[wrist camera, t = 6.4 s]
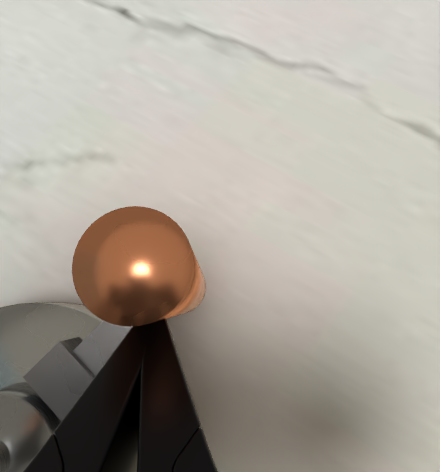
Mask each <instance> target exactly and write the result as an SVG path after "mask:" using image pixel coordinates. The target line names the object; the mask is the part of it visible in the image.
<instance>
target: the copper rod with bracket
mask: <svg viewBox="0 0 440 472" xmlns="http://www.w3.org/2000/svg"><path fill="white" fill-rule="evenodd" d="M72 275H73V282H74V285H75V289H76V291H77V293H78V296H79V297H80V299H81V301H82V302H83V304H84V305H85V306H86V307H87V308H88V309H89V310H90V311H91V312H92V313H93V314H94V315H96V316H97V317H99V318H100V319H102V320H104V321H103V322H102V323H101V324H100V325H99V326H98V327H97V328H96V329H95V330H94V331H92V332H91V333H90V334H89V335H88V336H87V337H86V338H85V339H84V340H82V339H81V338H80V337H76V338H72V339H68V340H64V341H59V342H58V343H57V344H56V345H55V346H54V347H53V348H52V349H51V350H50V351H49V352H48V353H47V354H46V355H45V356H44V357H43V358H42V359H41V360H40V361H39V362H38V363H37V364H36V365H35V366H34V367H33V368H32V369H31V370H30V371H29V372H28V373H27V374H25V375H24V376H23V378H24V379H25V380H26V382H27V383H28V384H29V385H30V386H31V387H32V388H33V390H34V391H35V392H36V393H37V394H38V395H39V396H40V397H41V399H42V400H43V401H44V402H45V403H46V404H47V405H48V407H49V408H50V409H51V410H52V411H53V412H54V413H55V415H56V416H57V417H58V418H59V419H60V420H61V421H62V420H63V419H64V417H65V416H66V415H67V413H68V412H69V411H70V409H71V408H72V407H73V405H74V404H75V403H76V401H77V400H78V399H79V397H80V396H81V395H82V393H83V392H84V391H85V389H86V388H87V387H88V385H89V384H90V383H91V381H92V380H93V379H94V377H95V376H96V375H97V373H98V372H99V371H100V369H101V368H102V367H103V365H104V364H105V363H106V361H107V360H108V359H109V357H110V356H111V355H112V353H113V352H114V351H115V349H116V348H117V347H118V345H119V344H120V343H121V341H122V340H123V339H124V337H125V336H126V335H127V333H128V332H129V331H130V329H131V328H132V327H133V326H141V325H146V324H149V323H153V322H156V321H160V320H163V319H166V318H170V317H173V316H176V315H180V314H183V313H187V312H189V311H191V310H193V309H195V308H196V307H197V306H198V305H199V304H200V303H201V301H202V299H203V297H204V294H205V289H206V285H205V280H204V277H203V274H202V272H201V270H200V267H199V265H198V262H197V260H196V258H195V255H194V253H193V250H192V248H191V246H190V243H189V241H188V239H187V237H186V235H185V233H184V232H183V230H182V229H181V228H180V227H179V225H178V224H177V223H176V222H175V221H173V220H172V219H171V218H170V217H168V216H167V215H165V214H163V213H161V212H159V211H157V210H154V209H151V208H146V207H136V206H134V207H125V208H120V209H117V210H114V211H111V212H109V213H107V214H105V215H103V216H102V217H100V218H99V219H97V220H96V221H95V222H94V223H92V224H91V226H90V227H89V228H88V229H87V230H86V231H85V233H84V234H83V235H82V237H81V239H80V240H79V242H78V245H77V247H76V249H75V253H74V257H73V264H72Z"/></svg>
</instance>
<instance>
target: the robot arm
mask: <svg viewBox="0 0 440 472" xmlns="http://www.w3.org/2000/svg"><path fill="white" fill-rule="evenodd" d="M54 434H55V435H54ZM54 434H52V435H51V436H50V437H49V439H48V440H47V441H46V443H45V444H44V445H43V447H42V448H41V449H40V451H39V452H38V453H37V454H36V456H35V457H34V458H33V460H32V461H31V462H30V463H29V465H28V466H27V467H26V468H25V470H24V471H23V472H218V471H217V469H216V466H215V464H214V461H213V458H212V456H211V453H210V450H209V447H208V445H207V442H206V439H205V436H204V433H203V430H202V428H201V424H200V421H199V418H198V415H197V412H196V409H195V406H194V403H193V400H192V397H191V394H190V390H189V387H188V384H187V381H186V378H185V375H184V372H183V369H182V366H181V363H180V360H179V357H178V354H177V351H176V348H175V345H174V342H173V339H172V336H171V333H170V330H169V327H168V324H167V321H166V319H163V320H160V321H156V322H153V323H149V324H146V325H141V326H133V327H132V328H131V329H130V331H129V332H128V333H127V335H126V336H125V337H124V339H123V340H122V341H121V343H120V344H119V345H118V347H117V348H116V349H115V351H114V352H113V353H112V355H111V356H110V357H109V359H108V360H107V361H106V363H105V364H104V365H103V367H102V368H101V369H100V371H99V372H98V373H97V375H96V376H95V377H94V379H93V380H92V381H91V383H90V384H89V385H88V387H87V388H86V389H85V391H84V392H83V393H82V395H81V396H80V397H79V399H78V400H77V401H76V403H75V404H74V405H73V407H72V408H71V409H70V411H69V412H68V413H67V415H66V416H65V417H64V419H63V420H62V421H61V423H60V424H59V425H58V427H57V428H56V429H55V431H54Z"/></svg>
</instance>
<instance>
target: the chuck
mask: <svg viewBox="0 0 440 472" xmlns="http://www.w3.org/2000/svg"><path fill="white" fill-rule="evenodd" d="M103 321H104V320H102V319H100V318H99V317H97V316H96V315H94V314H93V313H92V312H91V311H90V310H89V309H88V308H87V307H86V306H83V305H78V304H69V303H25V304H16V305H11V306H6V307H1V308H0V472H23V471H24V470H25V468H26V467H27V466H28V465H29V463H30V462H31V461H32V460H33V458H34V457H35V456H36V454H37V453H38V452H39V451H40V449H41V448H42V447H43V445H44V444H45V443H46V441H47V440H48V439H49V437H50V436H51V435H52V434H54V431H55V429H56V428H57V427H58V425H59V424H60V423H61V420H60V419H59V418H58V417H57V416H56V415H55V413H54V412H53V411H52V410H51V409H50V408H49V407H48V405H47V404H46V403H45V402H44V401H43V400H42V399H41V397H40V396H39V395H38V394H37V393H36V392H35V391H34V390H33V388H32V387H31V386H30V385H29V384H28V383H27V382H26V380H25V379H24V378H23V376H24V375H25V374H27V373H28V372H29V371H30V370H31V369H32V368H33V367H34V366H35V365H36V364H37V363H38V362H39V361H40V360H41V359H42V358H43V357H44V356H45V355H46V354H47V353H48V352H49V351H50V350H51V349H52V348H53V347H54V346H55V345H56V344H57V343H58V342H59V341H64V340H68V339H72V338H76V337H80V338H81V339H82V340H84V339H85V338H86V337H87V336H88V335H89V334H90V333H91V332H92V331H94V330H95V329H96V328H97V327H98V326H99V325H100V324H101V323H102V322H103ZM54 435H55V434H54Z"/></svg>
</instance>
